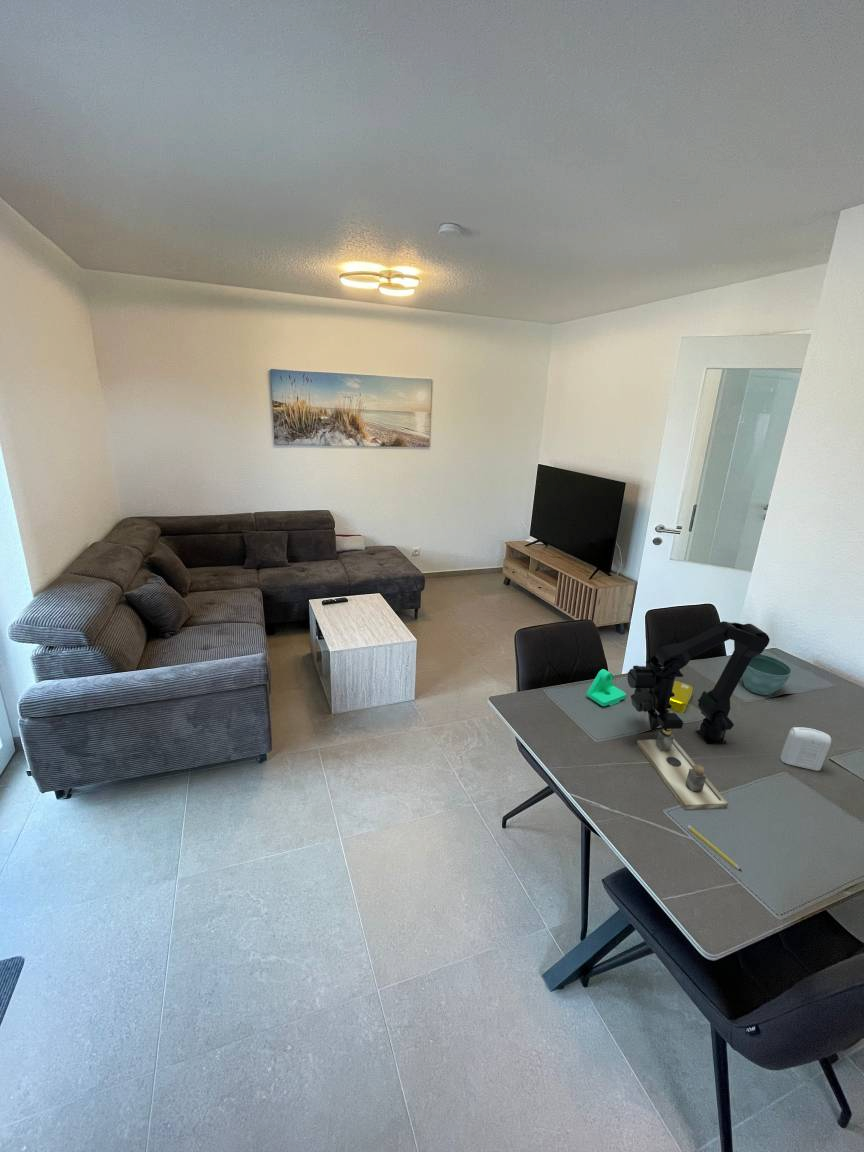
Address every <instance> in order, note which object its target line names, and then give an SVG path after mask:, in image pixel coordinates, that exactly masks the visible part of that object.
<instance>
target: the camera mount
mask: <svg viewBox="0 0 864 1152" xmlns="http://www.w3.org/2000/svg"><path fill="white" fill-rule="evenodd" d="M613 678H614V675H613V673H612V672H610V671H608V670H606V669H605V668H602V669H601V670H599V671H598V673H597V675H596V676H595V678H594V680H593V682H592V683H591V684H590V686H589V688H588V690H587V691H586V692H587V693H586V697H587V698H589V699H591V700H592V701H594V702H595V703H597V704H598V705H600V706H602V707H606V706H609V705H610V706H609V707H612V706H614V705H613V704H615V705H617V704H619V703H620V701H622V700H625V699H626V695H627V693H626V692H625V691H623V690H622V689H620V688H618V687H616V686H615V685H614V683H613ZM616 703H617V704H616ZM611 705H612V706H611Z"/></svg>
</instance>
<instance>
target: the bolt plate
mask: <svg viewBox="0 0 864 1152" xmlns="http://www.w3.org/2000/svg"><path fill="white" fill-rule="evenodd" d="M656 741H657V739H637V741H636V745H637V746H638V748H639V750H641V752H642V754H643V755H644V756H645V758H647V760H648V762H649V763H650V764H651V766H652V767H653V769H654V770H655V771H656V772H657V774H658V775H659V777H660V778H661V779H662V780H663V782H664V784H665V785H666V787H667V788H668V789H669V791H670V792H671V793H672V795H673V796H674V797H675V798H676V800H677V802H678V803H679V804H680V806H681V807H682V808H683V810H684V811H685V810H700V809H701V810H703V809H720V808H719V807H727V808H728V806H729V802H728V801H727V800H726V798H725V797H724V796H723V795H722V794H721V793H720V791H718V789H717V788H716V787H715V786H714V784H713V783H712V782H711V780H710V779H708V777H707V775H706V774H705V773H704V772H705V768H704V767H703V766H702V765H700V764H696V763H695V762H694V761H693V759H692V758H691V757H690V756H689V754H687V752H686V751H685V750H684V748H682V746H681V745H680V744H679V743H678V742H677V740H675V738H673V742H672V746H671V750H670V751H661V750H660V749H659V748H658V746H657V745H656ZM717 807H718V808H717Z"/></svg>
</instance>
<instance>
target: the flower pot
mask: <svg viewBox="0 0 864 1152" xmlns="http://www.w3.org/2000/svg"><path fill="white" fill-rule="evenodd" d="M792 673H793V671H792V669H791V666H789V665H788V664H787V663H785V662H784V661H782V660H780V659H778V658H775V657H773V656H769V655H766V654H762V653H761V654H759V655H757V656H755V657H754V658H752V659H751V661H750V663H749V665H748V666H747V668H746V670H745V672H744V674H743V675H742V677H741V679H742V681H743V685H744V686H743V687H745V688H746V689H747V690H748V691H750V692H752V693H755V694H758V695H761V696H771V695H773V694H774V692H775V691H778V690H779V689H781V688H782V687H783V686H784V685H785V684H786V683H787V682H788V679H789V677H790V676H791V675H792Z"/></svg>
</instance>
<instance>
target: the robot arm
mask: <svg viewBox="0 0 864 1152" xmlns="http://www.w3.org/2000/svg"><path fill="white" fill-rule="evenodd" d="M729 640H732V641H733V646H734V649H733V652H732V654H731V655H730V658H728V661H727V663H726V665H725V667H724V668H723V671H722V673H721V674H720V676H719V678H718V679H717V680H718V681H716V683H715V686H714V687H713V689H711V690H710V691H705V690H704V691H702V692H701V696H700V697H699V698H698V699H697V702H698V704H697V706H698V710H700V713H701V714H702V715H703V717H705V718H702V722H701V723H700V726H699V729H696V733H697V734H698V735H699V736H700V737H701V739H702V740H703V741H704V742H705V743H706V744H708V745H719V744H720V745H721V744H727V740H725V735H726V732H727V731H730V730H731V729H732V728H733V727H734V723H733V721H732V720H731V719H730V718H729V717H728V716H729V714H730V710H731V697H732V695H733V694H734V691H735V690H736V688H737V686H738V684H739V683H740V681H741V679H742V675H743V674H744V672H745V670H746V668H747V666H748V665H749V663H750V661H751V659H752V658H754V657H755V656H757V655H759V654H762V653H764V651H765V650H766V648H767V647H768V645H769V643H770V641H771V638H770V637H769V635H768V634H767V633H766V632H765V631H763V630H762V629H761V628H759V627H758V626H756V625H754V624H753V623H745V624H742V623H739V622H730V621H729V622H728V621H724V620H723V621H720V622H718V623H717V625H716V626H713V627H712V628H709V629H708V630H706V631H703V632H701V633H699V634H697V635H695V636H693V637H692V638H689V639H687V640H685V641H683V642H678V643H674V642H673V643H669V644H666V645H663V646H661V647H659V648H657V650H656V652H655V653H654V654H653V655H652V656H651V657H650V658H648V660H646V662H645V664H646V665H647V666H646V665H644V666H643V665H633V666H632V668H631V669H629V671H627V676H626V677H627V678H626V679H627V683H628V686H629V687H630V689H634V693H632V694H631V695H630V701H631V704H632V706H633V707H634V709H635V710H636V712H644V713H647V715H648V722H649V723H648V724H649V728H650V730H651V731H655V730H656V729H658V727H659V726H660V727H661V728H662V729H663V728H664V729H672V730H675V729H676V730H680V729H682V728H683V726H684V721H683V719H682V718H680V717H679V716H678V714H677V712H676V713H675V712H672V711H671V710H670V709H668V708H671V707H672V705H671V704H670V703H669V702H670V698H671V697H674V695H675V694H674V693H673V692H672V690H673V686H674V682H675V680H676V678H683V677H684V674H683V673H682V672H681V669H683V668H685V667H686V666H687V665H688V664H689V662H690V661H691V659H693V658H695V657H696V656H699V655H700V654H702V653H704V652H706V651H708V650H710V649H712V648H714V647H716V646H719V645H720V644H723V643H724V642H727V641H729ZM659 665H661V667H660V666H659Z"/></svg>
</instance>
